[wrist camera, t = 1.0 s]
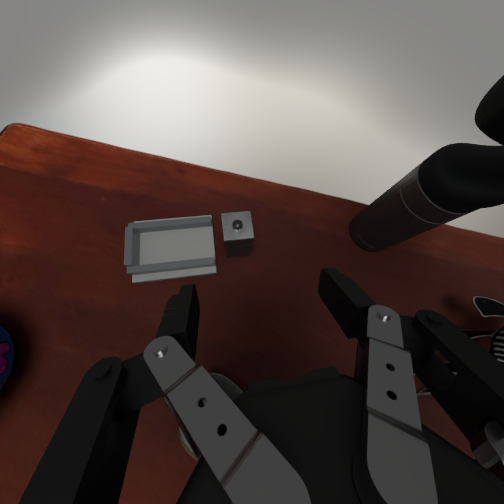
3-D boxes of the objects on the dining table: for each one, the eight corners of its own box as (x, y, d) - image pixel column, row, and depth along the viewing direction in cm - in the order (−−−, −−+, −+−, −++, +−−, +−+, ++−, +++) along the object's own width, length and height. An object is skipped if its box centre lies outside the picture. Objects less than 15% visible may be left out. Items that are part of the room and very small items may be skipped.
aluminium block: (246, 234, 42) (250, 209, 32) (249, 255, 41) (254, 236, 31) (224, 236, 41) (221, 212, 31) (226, 257, 40) (224, 239, 30)
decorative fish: (551, 349, 37) (735, 387, 22) (425, 421, 37) (525, 508, 22) (488, 274, 40) (611, 265, 25) (372, 340, 40) (429, 369, 25)
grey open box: (211, 217, 42) (209, 207, 38) (216, 273, 39) (214, 269, 35) (136, 224, 41) (125, 214, 37) (135, 283, 37) (123, 280, 33)
